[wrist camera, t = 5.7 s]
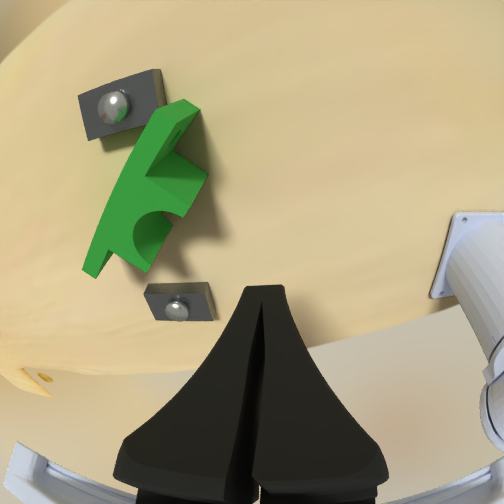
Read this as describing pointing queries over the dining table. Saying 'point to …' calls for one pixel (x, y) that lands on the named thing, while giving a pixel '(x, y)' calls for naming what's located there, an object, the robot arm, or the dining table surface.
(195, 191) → the pipe clamp
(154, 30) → the dining table surface
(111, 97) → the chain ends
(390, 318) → the dining table surface
